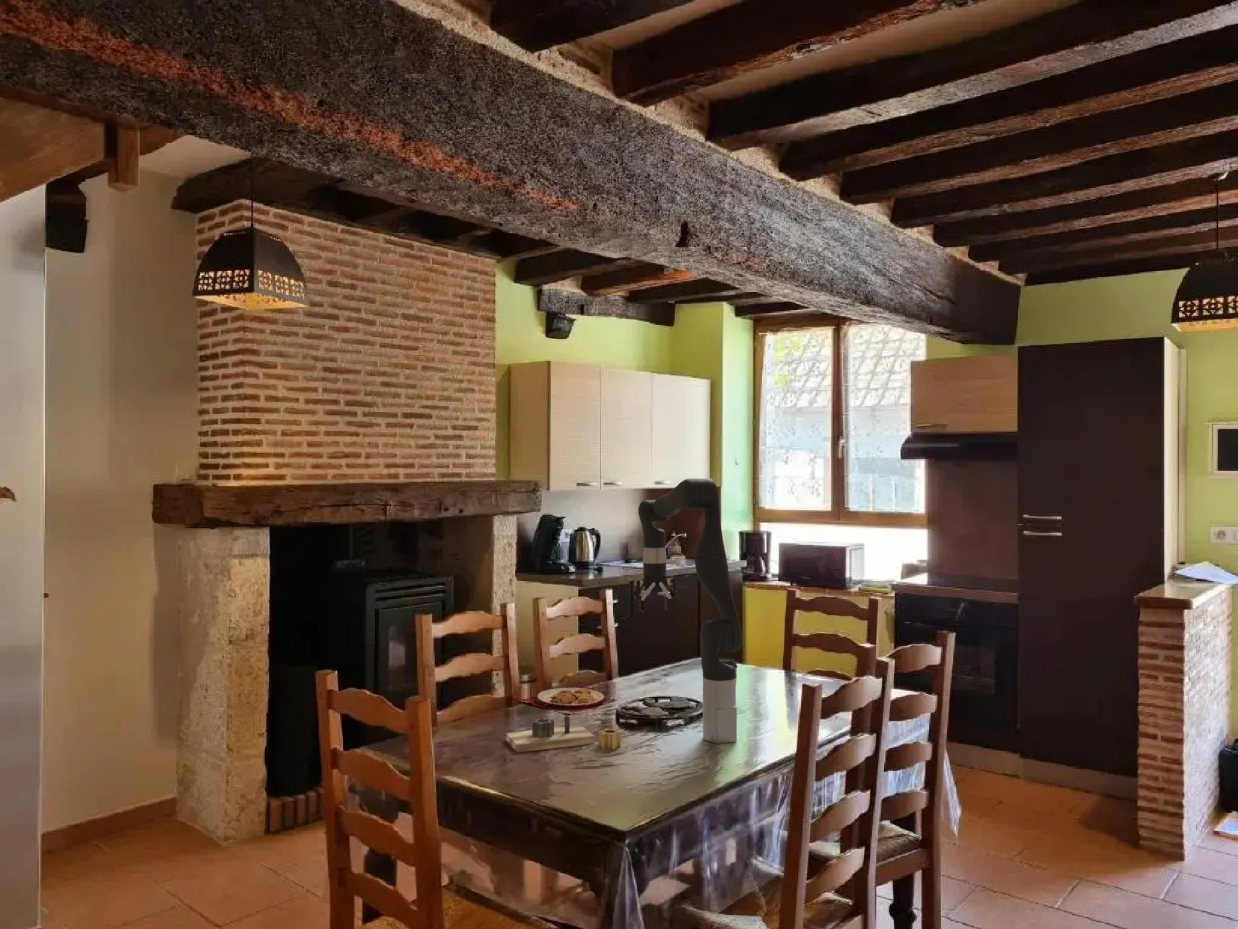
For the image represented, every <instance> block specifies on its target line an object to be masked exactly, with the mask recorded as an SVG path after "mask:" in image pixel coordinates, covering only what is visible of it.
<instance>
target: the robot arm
mask: <svg viewBox="0 0 1238 929" xmlns="http://www.w3.org/2000/svg"><path fill="white" fill-rule="evenodd" d="M682 509H685V510H691V511H693V510H694V511H696V510H701V511H702V510H703V514H704V526H703V528H702V532H701V535H700V537H699V539H698V541H697V543H696V545H695V548H694V552H693V559H694V566H695V572H696V576H697V579H698V580H699V582H700V584H701V585H702V586H703V589H705V590H706V592H707V593H708V594H709V595H710V597H711V598H712V599H713V600H714V602H715V604H716V606H717V608H718V611H719V614H720V615H719V616H720V618H721V619H713V620H706V621H704V622H703V623H702V624H701V627H700V632H699V633H700V634H699V640H700V642H699V643H700V660H701V662H700V664H701V669H702V739H703V740H704V741H707V742H710V743H713V744H717V745H720V744H726V743H735V742H738V741H737V740H738V738H737V730H738V728H737V726H738V724H737V723H738V722H737V720H738V719H737V718H738V716H737V712H738V711H737V701H736V700H737V696H736V694H737V692H736V691H737V690H736V689H737V679H736V674H737V672H736V670H735V668H734V667H733V666H731V665H728V664H725V663H722V662H720V660H719V658H720V657H719V656H720V655H719V654H724V653H725V654H726V653H728V654H729V653H735V652H738V651H739V650H740V649H741V647H742V644H743V637H742V636H743V635H742V629H741V624H740V620H739V616H738V613H737V609H736V604H735V600H734V596H733V591H732V586H731V585H732V584H731V579H730V572H729V566H728V559H727V554H726V548H725V542H724V537H723V531H722V524H721V513H720V512H721V511H720V510H721V509H720V498H719V492H718V487H717V484H716V482H715V480H713V478H708V477H707V478H705V477H704V478H703V477H702V478H699V477H697V478H693V477H692V478H691V477H690V478H685V479H684V480H682V481H681V482H679V483H678V484H677V485H676V486H675V487H674V488H673V489H672V490H671V491H670V492H668V493H665V494H663V495H660V496H659V497H658V498H656V499H644V500H642V501H641V502H640V503H639V505H638V511H637V512H638V517H639V520H640V524H641V528H642V532H643V552H642V553H643V555H642V569H643V572H642V573H643V574H642V575H643V578H642V580H641V579H634V580H633V591H632V592H633V593H632V597H633V599H637V600H638V610H639V611H640V612H641V613H645V612H646V601H645V599H646V598H647V596H649V595H650V594H653V593H654V594H655V593H661V594H662V595H663V597H664V607H663V609H664V610H665V611H669V610H670V609H671V606H672V605H671V599H672V598H675V597H677V585H676V578H673V577H669V578H668V577H667V551H666V550H667V549H666V531H665V530H664V529H662V528H656V527H654V525H653V523H652V522H666V521H668V520H669V519H671V517H672V516H675V515H677V514H679V513H680V512H681V511H682ZM667 584H668V586H669V587H668V588H669V591H668V589H667V588H666V585H667ZM642 585H643V588H642V590H641V587H642ZM640 591H641V592H640Z"/></svg>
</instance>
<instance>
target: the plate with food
mask: <svg viewBox="0 0 1238 929" xmlns="http://www.w3.org/2000/svg"><path fill="white" fill-rule="evenodd" d="M576 682H577V683H578V684H580V685H578V684H575V685H574V686H572V687H571V686H569V687H568V686H565V687H557V688H548V689H544V690H541V691H540V692H538V693H536V694H535V695H532V696H531V697H527V698H519V701H522V702H525V703H528V704H531V705H532V706H536V707H540V708H541V709H542V710H543V709H548V710H549V711H550V710H554V711H553V712H555V713H557V710H559V711H558V714H561V712H560V711H561V710H564V711H567V712H569V713H567V712H563V714H564V715H570V713H571V715H575V712H581V711H584V710H585V711H586V710H595V708H596V707H598V706H600V705H602V704H605V702H606V705H607V704H608V705H611V704H609V703H615V702H616V701H618V699H617V698H614V697H613V698H612V699H610V698H609V697H607V698H606V696H605V694H604V693H602V692H600V691H599V690H596V689H595V688H594V687H593V686H592V687H589V686H588V687H587V686H586V687H585V686H582V685H583V682H581V681H579V680H576ZM534 700H535V702H534ZM607 702H608V703H607Z"/></svg>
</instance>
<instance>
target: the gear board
mask: <svg viewBox="0 0 1238 929" xmlns="http://www.w3.org/2000/svg"><path fill="white" fill-rule="evenodd" d="M570 719H571V717H570V715H564V726H558V727H557V726H555V720H554V719H550V718H548V717H544V718H534V719H533V721H531V729H530V730H522V731H520V730H519V731H514V732H512V731H511V732H506V733H505V738H506V739H505V740H506V742H507V743H508V744H509V745H510V746H511V747H512V748H513V750H515V751H516V753H524V752H531V751H534V752H535V751H539V750H540V751H541V750H549V749H558V748H566V747H567V748H568V747H575V746H584V745H592V744H596V742H595V739H596V738H595V737H596V736H595V735H594V734H593V733H592V732H590V731H589V730H587V729H586V728H585V727H584V726H583V725H582V724H576V725H570V724H571V723H570V722H571V721H570Z"/></svg>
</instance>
